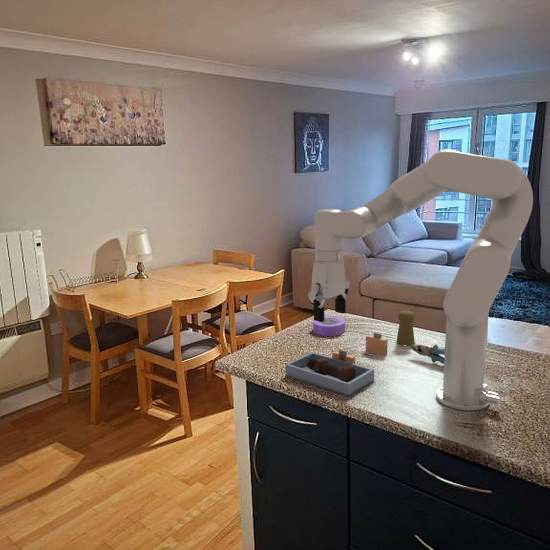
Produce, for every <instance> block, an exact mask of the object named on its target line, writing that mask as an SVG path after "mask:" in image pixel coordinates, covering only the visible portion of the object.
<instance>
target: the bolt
mask: <svg viewBox="0 0 550 550" xmlns="http://www.w3.org/2000/svg"><path fill="white" fill-rule="evenodd" d="M307 367H308V368H309V369H311V370H314V371H315V373H318V374H322V375H325V374H326V375H329V376H332V377H335V378H338V379H340V380H341V381H344V382H347V383H348V382H350V381H352V380H353V379H355V377H356V371H355V369H354V367H353V366H352V365H347V366H345V367H338V366H335V365H332V364H329V363H328V362H327V360H326V359H323V358H321V359H318V360H316V359H310V360H308V363H307Z"/></svg>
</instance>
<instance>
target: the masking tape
mask: <svg viewBox="0 0 550 550" xmlns="http://www.w3.org/2000/svg"><path fill="white" fill-rule="evenodd" d="M312 332H313V333H314V334H316V335H319V336H327V337H330V336H331V337H333V336H340V335H342V334H344V333H345V332H346V320H345V319H343V318H342V317H338V316H324V322H319V321H315V320H314V319H313V321H312Z"/></svg>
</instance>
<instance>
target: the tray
mask: <svg viewBox="0 0 550 550" xmlns="http://www.w3.org/2000/svg"><path fill="white" fill-rule="evenodd" d="M321 358H323V359H326V360H327V362H328V363H329V364H332V365H335V366H338V367H345V366H347V365H352V366H353V367H354V369H355V371H356V377H355V379H353V380H352V381H350V382H348V383H347V382H344V381H341V380H340V379H338V378H335V377H332V376H329V375H326V374H325V375H322V374H318V373H315V371H314V370H311V369H309V368H308V367H307V363H308V360H310V359H316V360H318V359H321ZM285 377H287V378H291V379H294V380H295V381H296V380H297V381H300V382H303V383H306V384H309V385H312V386H315V387H317V386H318V387H317V388H320V387H321V388H320V389H324V390H327V391H329V392H332V393H335V394H338V395H341V396H345V397H347V398H350V397H351V396H353V395H354V394H356V393H358V392H359V391H360V390H363V389H364V388H365V387H367V386H369V385H371V384H372V383H374V382H375V369H374V368H369V367H367V366H363V365H360V364H356V363H355V364H353V363H350V362H346V361H342V360H339V359H335V358H332V356H328V355H324V354H321V353H318V352H315V351H314V352H313V351H312V352H309V353H307V354H305V355H303V356H300V357H299V358H297V359H294V360H292V361H290V362H288V363H285Z"/></svg>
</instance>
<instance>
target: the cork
mask: <svg viewBox="0 0 550 550" xmlns="http://www.w3.org/2000/svg"><path fill="white" fill-rule="evenodd" d="M397 317H398V320H399V322H398V323H399V324H398V330H397V337H396V341H395V343H396V342H397V343H398V344H397V343H396V344H397V345H399V344H400V345H399V346H402V345H406V346H405V347H410V346H411V345H416V342H415V333H414V323H413V321H414V320H415V313H414V312H413V311H411V310H401V311H400V312H399V313H398V316H397Z"/></svg>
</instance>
